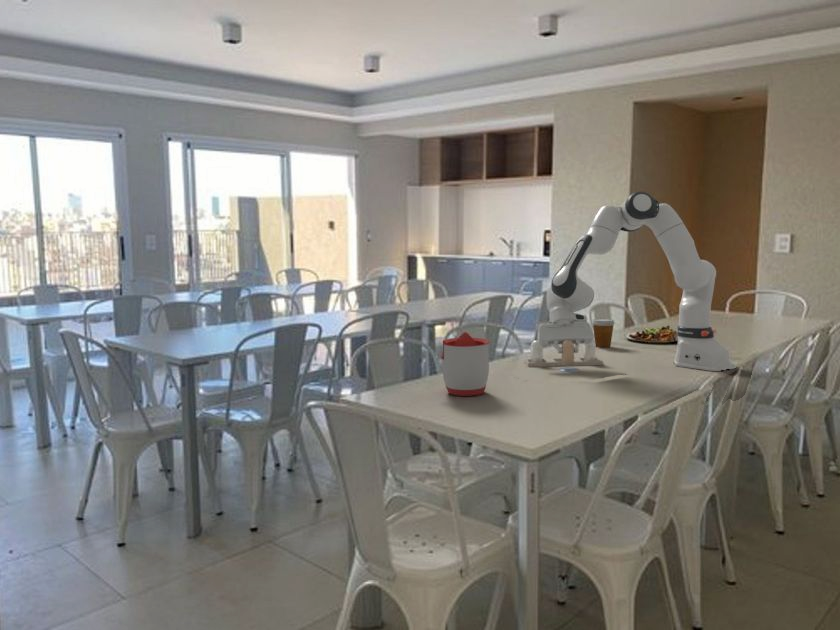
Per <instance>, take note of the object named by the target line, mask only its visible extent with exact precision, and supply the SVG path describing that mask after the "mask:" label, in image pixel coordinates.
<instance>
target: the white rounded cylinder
mask: <svg viewBox="0 0 840 630" xmlns="http://www.w3.org/2000/svg"><path fill="white" fill-rule="evenodd" d="M596 348H597V347H596V344H595V339H593V341H592V342H591V343H590V344H583V354H582V355H583V357H582V358H583V361H595V357H596Z"/></svg>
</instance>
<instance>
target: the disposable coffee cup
mask: <svg viewBox="0 0 840 630" xmlns="http://www.w3.org/2000/svg"><path fill="white" fill-rule="evenodd" d="M591 324H592V325H593V326H592V330H593V334H594V341H595V344H596V348H597V347H600V348H599V349H608V348H611V346H612V345H611V344H612V338H613V331H614V325H615V324H616V323H615V320H614V319H613V318H606V317H603V318H602V317H601V318H599V317H598V318H594V319H592V321H591Z"/></svg>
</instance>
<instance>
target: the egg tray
mask: <svg viewBox="0 0 840 630" xmlns="http://www.w3.org/2000/svg"><path fill="white" fill-rule="evenodd" d="M523 365H525V366H526V367H527V368H537V367H563V366H562V357H560V358H559V357H557V358H556V357H555V358H552V357H551V358H543V362H531V358H524V361H523ZM604 365H605V364H604V360H603V359H601V358H599V357H598V356H597V357H596V356H595V361H583V357H574V366H575V367H576V366H578V367H579V366H604Z"/></svg>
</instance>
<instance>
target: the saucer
mask: <svg viewBox="0 0 840 630" xmlns="http://www.w3.org/2000/svg"><path fill="white" fill-rule="evenodd" d="M556 370H557V371H558V372H563V373H564V372H565V373H576V372H579V371H580V368H577V367H572V366H562V367H557V369H556Z"/></svg>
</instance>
